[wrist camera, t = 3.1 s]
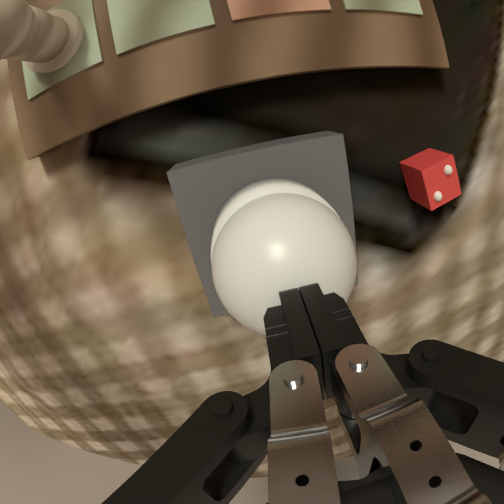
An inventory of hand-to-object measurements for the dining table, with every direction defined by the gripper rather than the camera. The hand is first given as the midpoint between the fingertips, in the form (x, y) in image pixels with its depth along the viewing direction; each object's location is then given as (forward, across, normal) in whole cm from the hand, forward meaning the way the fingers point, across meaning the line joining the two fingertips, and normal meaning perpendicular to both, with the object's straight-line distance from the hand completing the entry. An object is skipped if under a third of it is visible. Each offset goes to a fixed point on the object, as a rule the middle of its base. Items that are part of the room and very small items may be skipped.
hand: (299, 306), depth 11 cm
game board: (+10, 0, -16) cm, 19 cm away
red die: (+10, -12, -1) cm, 16 cm away
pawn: (+9, +11, -16) cm, 21 cm away
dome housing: (+10, 0, 0) cm, 10 cm away
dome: (+7, 0, 0) cm, 7 cm away
